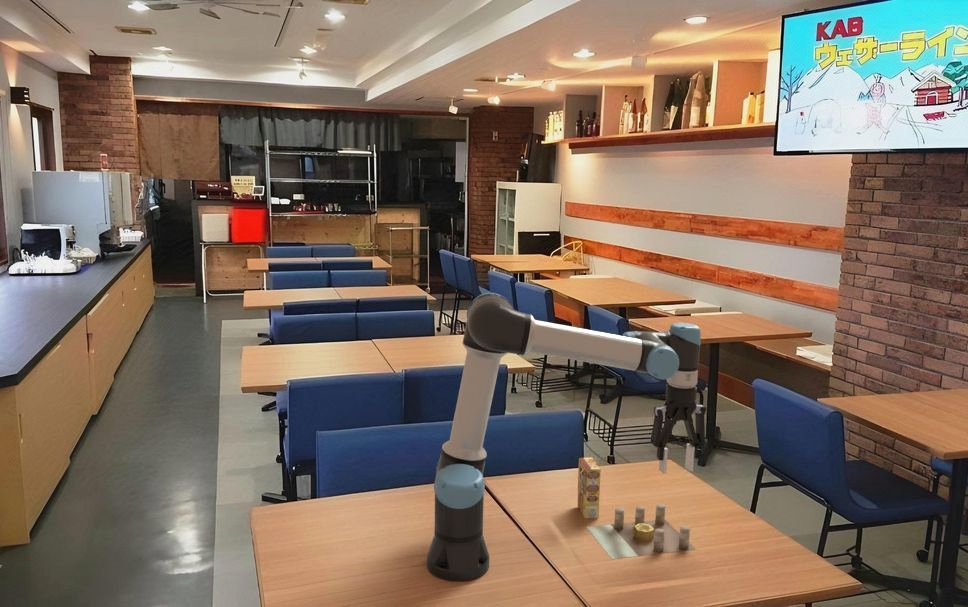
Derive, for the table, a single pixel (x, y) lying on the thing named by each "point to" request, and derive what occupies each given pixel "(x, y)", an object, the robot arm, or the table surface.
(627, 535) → the board
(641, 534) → the wooden star polyhedron
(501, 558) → the table surface
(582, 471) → the candy box
